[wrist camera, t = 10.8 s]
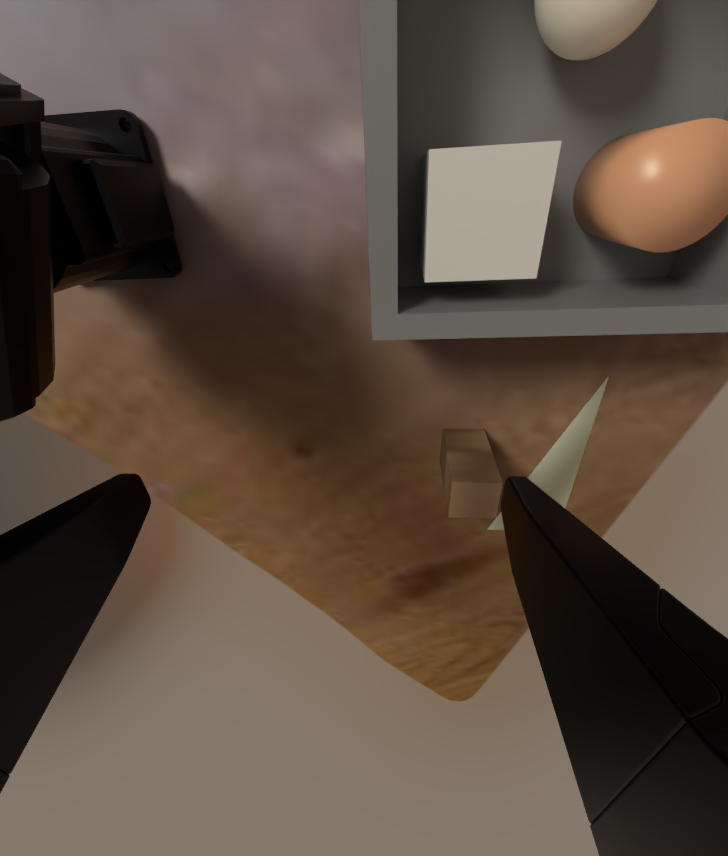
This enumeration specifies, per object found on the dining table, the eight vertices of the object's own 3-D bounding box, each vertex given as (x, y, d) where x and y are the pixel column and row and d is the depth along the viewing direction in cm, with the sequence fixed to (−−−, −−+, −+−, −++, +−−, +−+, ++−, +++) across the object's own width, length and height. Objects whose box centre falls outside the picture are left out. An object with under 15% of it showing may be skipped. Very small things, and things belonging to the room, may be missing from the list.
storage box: (378, 303, 20) (372, 340, 15) (364, -148, 12) (344, -354, 7) (668, 294, 18) (760, 331, 14) (856, -215, 11) (1198, -511, 6)
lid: (351, 520, 29) (342, 584, 24) (335, 327, 21) (316, 368, 16) (554, 525, 28) (586, 594, 23) (619, 322, 20) (688, 365, 15)
